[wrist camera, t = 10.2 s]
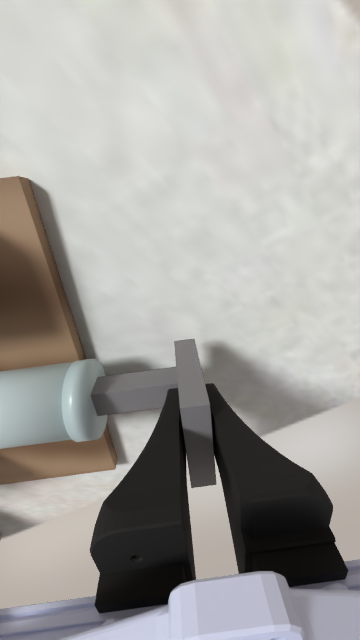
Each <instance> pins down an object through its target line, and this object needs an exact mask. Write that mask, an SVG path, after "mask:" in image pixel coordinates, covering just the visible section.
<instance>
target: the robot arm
mask: <svg viewBox="0 0 360 640" xmlns="http://www.w3.org/2000/svg"><path fill="white" fill-rule="evenodd" d="M205 386H206V390H207V394H208V398H209V402H210V411H211V423H212V436H213V449H214V455H215V459H216V462H217V465H218V469H219V473H220V477H221V481H222V486H223V492H224V497H225V501H226V507H227V512H228V517H229V523H230V528H231V533H232V539H233V543H234V548H235V555H236V560H237V566H238V571H239V574H235V575H229V576H221V577H214V578H207V579H200V580H196V575H195V566H194V555H193V545H192V535H191V524H190V514H189V504H188V492H187V479H186V447H185V440H184V433H183V426H182V419H181V413H180V404H179V392H178V388H173V389H169V390H168V391H167V396H166V400H165V403H164V406H163V409H162V412H161V414H160V417H159V420H158V422H157V424H156V426H155V429H154V431H153V433H152V435H151V437H150V439H149V441H148V442H147V444H146V446H145V448H144V449H143V451H142V453H141V454H140V456H139V457H138V459H137V460H136V462H135V463H134V465H133V466H132V468H131V469H130V470H129V472H128V473H127V474H126V476H125V477H124V478H123V480H122V481H121V482H120V483H119V485H118V486H117V487H116V488H115V489H114V490H113V492H112V493H111V494H110V495H109V496H108V497H107V498H106V500H105V501H104V502H103V504H102V507H101V510H100V512H99V515H98V518H97V521H96V524H95V528H94V533H93V537H92V542H91V547H90V553H91V556H92V558H93V560H94V562H95V564H96V566H97V568H98V570H99V572H100V577H99V583H98V588H97V594H96V596H93V597H85V598H78V599H70V600H63V601H56V602H49V603H41V604H34V605H27V606H20V607H13V608H5V609H0V640H360V560H352V561H345V562H344V561H343V559H342V557H341V555H340V553H339V551H338V549H337V547H336V545H335V543H334V542H335V537H334V535H333V533H332V531H331V529H330V527H329V524H330V520H331V516H332V512H333V505H332V503H331V500H330V499H329V497H328V495H327V493H326V492H325V490H324V489H323V487H322V486H321V485H320V483H319V482H318V481H317V479H316V478H315V477H314V475H313V474H312V473H310V472H309V471H307V470H305V469H304V468H302V467H300V466H299V465H297V464H295V463H294V462H292V461H290V460H289V459H288V458H286V457H285V456H283V455H282V454H280V453H279V452H278V451H276V450H275V449H274V448H272V447H271V446H270V445H268V444H267V443H266V442H265V441H263V440H262V439H261V438H260V437H259V436H258V435H256V434H255V433H254V432H253V431H252V430H251V429H250V428H249V427H248V426H247V425H246V424H245V423H244V422H243V421H242V420H241V419H240V418H239V417H238V416H237V414H236V413H235V412H234V411H233V410H232V409H231V407H230V406H229V405H228V404H227V402H226V401H225V400H224V398H223V397H222V396H221V394H220V393H219V391H218V390H217V388H216V386H215V385H214V384H213V383H211V384H205ZM0 540H1V538H0Z"/></svg>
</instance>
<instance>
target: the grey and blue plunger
mask: <svg viewBox="0 0 360 640" xmlns="http://www.w3.org/2000/svg"><path fill="white" fill-rule="evenodd" d="M174 344H175V356H176V367H172V368H164V369H156V370H148V371H141V372H133V373H125V374H117V375H110V376H106V374H105V371H104V369H103V366H102V364H101V363H100V362H99V360H97V359H87V360H79V361H75V362H70V363H62V364H54V365H46V366H38V367H31V368H23V369H15V370H7V371H0V449H3V448H11V447H19V446H26V445H34V444H41V443H49V442H57V441H64V440H73V441H75V442H82V441H90V440H97V439H99V438H100V437H101V436H102V434H103V432H104V430H105V427H106V423H107V418H108V415H110V414H117V413H125V412H133V411H140V410H148V409H156V408H163V406H164V403H165V400H166V396H167V391H168V390H169V389H173V388H178V392H179V404H180V413H181V419H182V426H183V433H184V440H185V447H186V454H187V461H188V467H189V474H190V481H191V488H194V487H202V486H208V485H216V474H215V461H214V449H213V436H212V423H211V411H210V402H209V398H208V394H207V390H206V386H205V382H204V377H203V373H202V369H201V365H200V361H199V357H198V353H197V348H196V344H195V340H194V339H188V340H180V341H174Z"/></svg>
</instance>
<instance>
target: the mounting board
mask: <svg viewBox="0 0 360 640" xmlns="http://www.w3.org/2000/svg"><path fill="white" fill-rule="evenodd" d="M79 360H86V359H85V356H84V352H83V349H82V346H81V343H80V340H79V337H78V333H77V330H76V327H75V324H74V321H73V318H72V315H71V311H70V308H69V305H68V302H67V299H66V296H65V293H64V289H63V286H62V283H61V280H60V277H59V274H58V270H57V267H56V264H55V261H54V258H53V255H52V252H51V248H50V245H49V242H48V239H47V236H46V233H45V229H44V226H43V223H42V220H41V217H40V214H39V211H38V207H37V204H36V201H35V198H34V195H33V192H32V188H31V185H30V182H29V179H28V178H24V177H19V176H16V177H7V178H0V371H7V370H15V369H23V368H31V367H38V366H46V365H54V364H62V363H70V362H75V361H79ZM116 462H117V456H116V453H115V450H114V447H113V444H112V441H111V438H110V434H109V431H108V428H107V425H106V427H105V430H104V432H103V434H102V436H101V437H100V438H99V439H97V440H90V441H82V442H75V441H73V440H64V441H57V442H49V443H41V444H34V445H26V446H19V447H11V448H3V449H0V485H1V484H9V483H16V482H24V481H31V480H39V479H46V478H54V477H61V476H69V475H76V474H84V473H91V472H99V471H106V470H114V469H115V468H116Z"/></svg>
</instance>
